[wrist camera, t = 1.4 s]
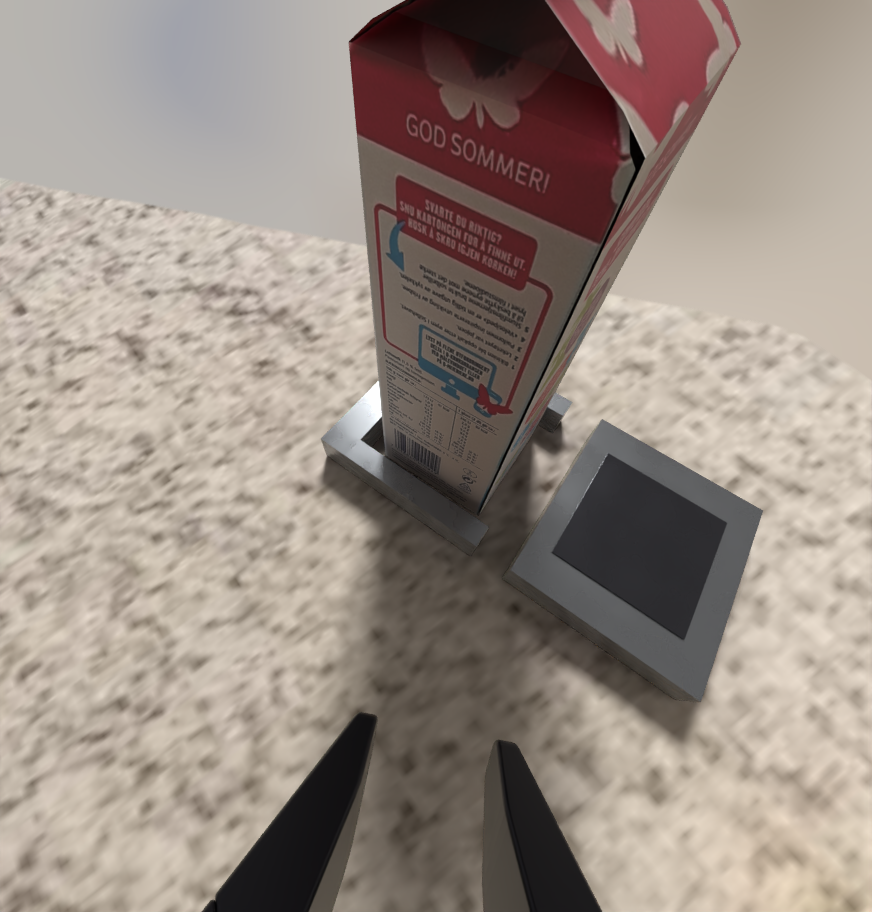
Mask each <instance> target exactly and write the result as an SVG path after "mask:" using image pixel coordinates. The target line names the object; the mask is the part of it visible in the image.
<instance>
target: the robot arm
mask: <svg viewBox="0 0 872 912" xmlns="http://www.w3.org/2000/svg"><path fill="white" fill-rule="evenodd" d="M377 720H378V719H377V716H376V715H373V714H368V713H363V712H359V713H357V714H356V715H355V716H354V717H353V718H352V720H351V721H350V722H349V723H348V725H347V726H346V727H345V729H344V730H343V731H342V732H341V734H340V735H339V736H338V738H337V739H336V740H335V741H334V743H333V744H332V745H331V747H330V748H329V749H328V750H327V752H326V753H325V754H324V756H323V757H322V758H321V759H320V761H319V762H318V763H317V765H316V766H315V767H314V768H313V770H312V771H311V772H310V774H309V775H308V776H307V777H306V779H305V780H304V781H303V783H302V784H301V785H300V786H299V788H298V789H297V790H296V792H295V793H294V794H293V795H292V797H291V798H290V799H289V801H288V802H287V803H286V804H285V806H284V807H283V808H282V810H281V811H280V812H279V813H278V815H277V816H276V817H275V819H274V820H273V821H272V822H271V824H270V825H269V826H268V828H267V829H266V830H265V831H264V833H263V834H262V835H261V837H260V838H259V839H258V841H257V842H256V843H255V844H254V846H253V847H252V848H251V850H250V851H249V852H248V853H247V855H246V856H245V857H244V859H243V860H242V861H241V862H240V864H239V865H238V866H237V868H236V869H235V870H234V871H233V873H232V874H231V875H230V877H229V878H228V879H227V880H226V882H225V883H224V884H223V886H222V887H221V888H220V889H219V891H218V892H217V893H216V895H215V900H211V901H210V902H209V903H208V904H207V906H206V907H205V908H204V910H203V911H202V912H332V910H333V907H334V904H335V901H336V898H337V894H338V891H339V888H340V885H341V882H342V879H343V875H344V872H345V869H346V865H347V862H348V858H349V855H350V851H351V847H352V843H353V838H354V834H355V829H356V825H357V820H358V815H359V811H360V806H361V801H362V797H363V792H364V788H365V783H366V778H367V774H368V769H369V764H370V760H371V755H372V750H373V744H374V738H375V732H376V727H377ZM482 888H483V910H484V912H602V910H601V908H600V906H599V904H598V902H597V900H596V898H595V896H594V894H593V892H592V890H591V888H590V887H589V885H588V883H587V881H586V879H585V877H584V875H583V873H582V871H581V869H580V867H579V865H578V863H577V861H576V859H575V857H574V855H573V853H572V851H571V849H570V847H569V845H568V843H567V842H566V840H565V838H564V836H563V834H562V832H561V830H560V828H559V826H558V824H557V822H556V820H555V818H554V816H553V814H552V812H551V810H550V808H549V806H548V804H547V802H546V800H545V798H544V797H543V795H542V793H541V791H540V789H539V787H538V785H537V783H536V781H535V779H534V777H533V775H532V773H531V771H530V769H529V767H528V765H527V763H526V761H525V759H524V757H523V755H522V753H521V752H520V750H519V748H518V746H517V745H516V744H515V743H512V742H507V741H502V740H496V741H495V743H494V745H493V748H492V751H491V755H490V759H489V762H488V766H487V769H486V775H485V794H484V829H483V864H482Z"/></svg>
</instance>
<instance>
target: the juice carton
mask: <svg viewBox="0 0 872 912" xmlns="http://www.w3.org/2000/svg"><path fill="white" fill-rule="evenodd" d="M740 45H741V42H740V39H739V37H738V34H737V32H736V28H735V26H734V23H733V20H732V18H731V15H730V12H729V10H728V7H727V6H726V4H725V2H724V1H723V0H405V1H403V2H402V3H400V4H398V5H396V6H394V7H392V8H391V9H389V10H387V11H385V12H383V13H382V14H380V15H378V16H377V17H375V18H373V19H372V20H371V21H370V22H369V23H367V25H366V26H364V28H362V29H361V30H360V31H359V32H358V33H357V34H356V35H355V36H354V37H353V38H352V39H351V40H350V41H349V51H350V62H351V73H352V84H353V95H354V107H355V118H356V129H357V140H358V152H359V163H360V175H361V185H362V197H363V208H364V220H365V230H366V243H367V254H368V263H369V273H370V286H371V298H372V310H373V322H374V333H375V344H376V355H377V367H378V378H379V389H380V401H381V412H382V423H383V434H384V446H385V455H386V456H387V457H389V458H390V459H392V460H394V461H395V462H397V463H398V464H400V465H401V466H403V467H404V468H406V469H407V470H409V471H410V472H412V473H413V474H415V475H417V476H418V477H420V478H421V479H423V480H424V481H426V482H427V483H429V484H430V485H432V486H433V487H435V488H437V489H438V490H440V491H441V492H443V493H444V494H446V495H447V496H449V497H450V498H452V499H453V500H455V501H457V502H458V503H460V504H461V505H463V506H464V507H466V508H467V509H469V510H470V511H472V512H473V513H475V514H476V515H478V516H479V514H480V513H481V511H482V510H483V508H484V507H485V505H486V504H487V502H488V501H489V499H490V498H491V496H492V495H493V493H494V492H495V490H496V489H497V487H498V486H499V484H500V483H501V481H502V480H503V478H504V477H505V475H506V474H507V472H508V471H509V469H510V468H511V466H512V465H513V463H514V462H515V460H516V459H517V457H518V456H519V454H520V453H521V451H522V450H523V448H524V447H525V445H526V444H527V442H528V441H529V439H530V438H531V436H532V435H533V433H534V431H535V429H536V427H537V425H538V423H539V421H540V420H541V418H542V416H543V414H544V412H545V410H546V408H547V407H548V405H549V403H550V401H551V399H552V397H553V395H554V393H555V392H556V390H557V388H558V386H559V384H560V382H561V380H562V378H563V377H564V375H565V373H566V371H567V369H568V367H569V365H570V363H571V362H572V360H573V358H574V356H575V354H576V352H577V350H578V348H579V347H580V345H581V343H582V341H583V339H584V337H585V335H586V333H587V332H588V330H589V328H590V326H591V324H592V322H593V320H594V318H595V317H596V315H597V313H598V311H599V309H600V307H601V305H602V303H603V302H604V300H605V298H606V296H607V294H608V292H609V290H610V288H611V287H612V285H613V283H614V281H615V279H616V277H617V275H618V273H619V272H620V270H621V268H622V266H623V264H624V262H625V260H626V258H627V257H628V255H629V253H630V251H631V249H632V247H633V245H634V243H635V242H636V239H637V238H638V236H639V234H640V232H641V230H642V228H643V227H644V225H645V223H646V221H647V219H648V217H649V215H650V213H651V211H652V210H653V208H654V206H655V204H656V202H657V200H658V198H659V196H660V195H661V193H662V191H663V189H664V187H665V185H666V183H667V182H668V180H669V178H670V176H671V174H672V172H673V170H674V168H675V167H676V164H677V163H678V161H679V159H680V157H681V155H682V153H683V152H684V150H685V148H686V146H687V144H688V142H689V140H690V138H691V137H692V135H693V133H694V130H695V129H696V127H697V125H698V123H699V122H700V120H701V118H702V116H703V114H704V112H705V110H706V108H707V107H708V105H709V103H710V101H711V99H712V97H713V95H714V93H715V92H716V90H717V88H718V86H719V84H720V82H721V80H722V78H723V76H724V75H725V73H726V71H727V69H728V67H729V65H730V63H731V61H732V60H733V58H734V56H735V54H736V52H737V50H738V48H739V47H740Z"/></svg>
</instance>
